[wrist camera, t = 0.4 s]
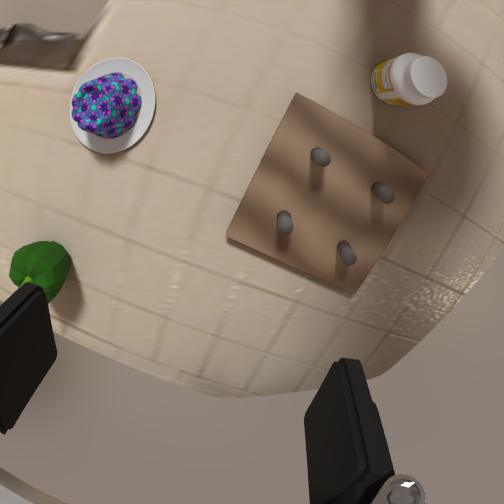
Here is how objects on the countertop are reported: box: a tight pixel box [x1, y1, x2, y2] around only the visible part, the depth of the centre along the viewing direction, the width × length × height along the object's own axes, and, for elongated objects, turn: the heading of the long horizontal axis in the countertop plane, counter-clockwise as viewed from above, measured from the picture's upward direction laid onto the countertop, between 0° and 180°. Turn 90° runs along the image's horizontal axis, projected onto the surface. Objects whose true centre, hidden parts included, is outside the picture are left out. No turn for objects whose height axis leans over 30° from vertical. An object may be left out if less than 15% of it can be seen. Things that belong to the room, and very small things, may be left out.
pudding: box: [69, 57, 155, 154], centre depth 30 cm, size 12×12×5 cm
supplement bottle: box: [371, 53, 447, 105], centre depth 26 cm, size 5×5×10 cm
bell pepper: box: [9, 241, 70, 303], centre depth 37 cm, size 8×8×10 cm
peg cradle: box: [225, 93, 429, 294], centre depth 34 cm, size 18×18×5 cm
